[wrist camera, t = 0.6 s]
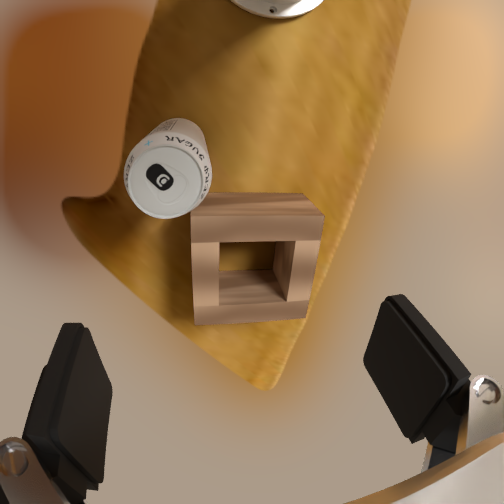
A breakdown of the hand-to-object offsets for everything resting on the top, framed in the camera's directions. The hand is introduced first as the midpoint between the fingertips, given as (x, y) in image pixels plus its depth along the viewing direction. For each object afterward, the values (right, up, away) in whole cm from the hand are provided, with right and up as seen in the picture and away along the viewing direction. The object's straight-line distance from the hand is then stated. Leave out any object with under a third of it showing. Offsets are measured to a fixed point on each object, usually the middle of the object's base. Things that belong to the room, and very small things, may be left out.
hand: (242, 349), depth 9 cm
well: (0, +4, +29) cm, 30 cm away
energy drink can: (-8, +14, +22) cm, 28 cm away
